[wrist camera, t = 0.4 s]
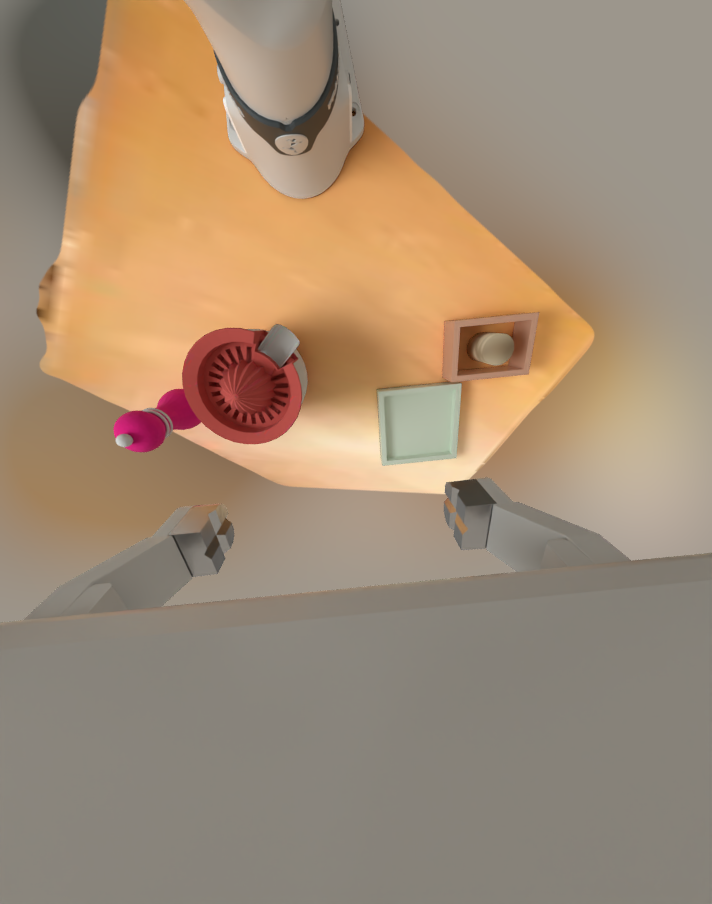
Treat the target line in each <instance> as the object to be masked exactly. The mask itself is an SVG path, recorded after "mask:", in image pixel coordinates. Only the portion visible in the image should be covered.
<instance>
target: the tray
mask: <svg viewBox="0 0 712 904" xmlns="http://www.w3.org/2000/svg"><path fill="white" fill-rule="evenodd" d="M461 387H462V383H460V382H442V383H432V384H422V385H413V386H403V387H393V388H384V389H377V401H378V418H379V434H380V451H381V462H382V466H385V465H394V464H404V463H414V462H423V461H433V460H443V459H452V458H456V457H457V443H458V429H459V415H460V401H461Z"/></svg>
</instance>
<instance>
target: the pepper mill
mask: <svg viewBox="0 0 712 904" xmlns="http://www.w3.org/2000/svg"><path fill="white" fill-rule="evenodd" d="M199 423H201V421H200V420H199V419H198V418H197V416H196V415H195V413H194V412H193V410H192V409H191V407H190V405H189V403H188V401H187V399H186V396H185V392H184V389H174V390H171V391H169V392H167V393H166V394H164V395H163V396H162V397H161V399H160V400H159V402H158V405H157V408H147V409H144V410H142V411H131V412H128V413H125V414H124V415H122V416H121V417H120V418H119V419H118V420H117V421H116V423H115V425H114V435H115V438H116V443H117V444H118V445H119V446H121V447H125V448H127V449H129V450H131V451H135V452H148V451H151V450H154V449H156V448H158V447H159V446H160V445H161V444H162V443H163V441H164V439H165V438H166V437H168V436H169V435H170V434H171V433H172V431H173V430H174V429H178V430H185V429H190V428H193V427H195V426H197V425H198V424H199Z"/></svg>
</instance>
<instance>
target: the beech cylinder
mask: <svg viewBox="0 0 712 904" xmlns="http://www.w3.org/2000/svg"><path fill="white" fill-rule="evenodd" d="M513 351H514V341H513V339H512V338H511V337H510V336H509V335H507V334H503V333H487V332H480V333H477V334H475V335H474V336H473V337H472V338H471V339H470V340H469V342H468V345H467V353H468V356H469V357H470V358H471V359H473V360H476V361H480V362H483V363H487V364H490V365H495V366H496V365H501V364H503V363H505V362H506V361H508V360H509V358H510V357H511V356H512V354H513Z"/></svg>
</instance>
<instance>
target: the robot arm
mask: <svg viewBox="0 0 712 904" xmlns="http://www.w3.org/2000/svg"><path fill="white" fill-rule="evenodd" d="M184 1H185V2H186V4H187V5H188V6H189V7H190V9H191V10H192V12H193V13H194V15H195V16H196V18H197V20H198V21H199V23H200V25H201V27H202V28H203V30H204V32H205V34H206V36H207V37H208V39H209V41H210V43H211V45H212V47H213V49H214V54H215V57H216V60H217V72H218V77H219V80H220V82H221V83H222V84H224V91H225V97H224V98H223V102H224V106H225V109H226V114H227V129H228V137H229V140H230V142H231V144H232V146H233V147H234V148H235V149H236V150H237V151H238V152H239V153H240V154H242V155H243V156H245V157H246V158H248V159H249V160H251V162H252V163H253V164H254V165H255V166H256V168H257V169H258V171H259V172H260V173H261V175H262V176H263V177H264V179H265V180H266V181H267V182H268V183H269V184H270V185H271V186H272V187H273V188H275V189H276V190H277V191H279V192H281V193H283V194H284V195H287V196H290V197H293V198H302V199H303V198H310V197H314V196H316V195H319V194H320V193H322V192H324V191H325V190H326V189H327V188H329V187H330V186H331V185H332V183H333V182H334V181H335V180H336V178H337V177H338V175H339V173H340V171H341V169H342V167H343V164H344V162H345V159H346V156H347V154H348V152H349V150H350V149H351V148H352V147H353V146H354V145H355V144H356V143H357V142H358V140H359V139H360V138H361V136H362V134H363V132H364V118H363V113H362V108H361V102H360V97H359V92H358V87H357V82H356V77H355V72H354V67H353V62H352V58H351V52H350V47H349V42H348V38H347V32H346V27H345V22H344V16H343V12H342V6H341V1H340V0H184ZM352 111H355V112H356V115H355V116H352ZM445 493H446V495H447V497H448V498H447V499H446V501H445V502H444V514H445V518H446V522H447V524H448V526H449V528H451V529H453V530H454V537H455V540H456V541H457V543H458V545H459V547H460V549H461V550H469V549H485V548H486V550H487V551H489V552H490V553H492V554H493V555H494V556H496V557H497V558H498V559H500V560H501V561H503V562H504V563H505V564H507V565H508V566H510V567H511V568H512V569H514V570H515V571H516V572H511V573H501V574H491V575H481V576H471V577H462V578H461V577H460V578H450V579H440V580H430V581H419V582H409V583H399V584H388V585H378V586H367V587H357V588H348V589H337V590H327V591H318V592H307V593H298V594H288V595H278V596H267V597H256V598H246V599H236V600H226V601H215V602H205V603H194V604H185V605H174V606H164V607H162V606H163V605H164V603H166V602H167V601H168V600H169V599H170V598H171V597H172V596H174V595H175V594H176V593H177V592H178V591H179V590H180V589H181V588H182V587H183V586H184V585H186V584H187V583H188V582H189V581H190V580H191V579H192V577H196V576H204V575H211V574H218V572H219V570H220V568H221V566H222V564H223V562H224V560H225V556H224V553H225V552H227V551H228V550H229V549H230V548H231V546H232V543H233V540H234V528H233V526H232V523H231V522H230V521H228V520H227V519H226V517H227V515H228V511H227V509H226V506H225V505H223V504H211V505H198V506H186V507H180V508H177V510H176V511H175V512H174V513H173V514H172V515H171V516H170V517H169V519H168V520H167V521H166V522H165V523H164V524H163V525H162V526H161V527H160V528H159V529H158V531H157V532H156V533H155V534H154V535H153V536H152V537H150V538H146V539H144V540H142V541H140V542H138V543H137V544H135V545H133V546H131V547H130V548H128V549H126V550H124V551H122V552H120V553H119V554H117V555H115V556H113V557H111V558H110V559H108V560H106V561H104V562H102V563H101V564H99V565H97V566H95V567H93V568H92V569H90V570H88V571H86V572H84V573H83V574H81V575H79V576H77V577H75V578H74V579H72V580H70V581H68V582H67V583H65V584H63V585H61V586H59V587H58V588H57V589H56V590H55V591H54V592H53V593H52V594H51V595H50V596H48V597H47V599H45V600H44V601H43V602H42V603H41V604H40V605H39V606H38V607H37V608H36V609H34V610H33V611H32V612H31V613H30V614H29V615H28V616H27V617H26V618H25V619H24V620H20V621H9V622H0V904H712V553H705V554H695V555H684V556H674V557H665V558H654V559H643V560H633V561H631V560H630V559H629V558H628V557H626V556H625V555H624V554H623V553H622V552H620V551H619V550H618V549H617V548H615V547H614V546H613V545H612V544H611V543H609V542H608V541H607V540H606V539H604V538H603V537H602V536H601V535H600V534H597V533H595V532H592V531H590V530H587V529H585V528H582V527H580V526H577V525H575V524H572V523H570V522H567V521H565V520H562V519H560V518H557V517H555V516H552V515H550V514H547V513H545V512H542V511H540V510H537V509H535V508H532V507H530V506H527V505H525V504H522V503H519V502H513V501H512V500H511V499H510V498H509V497H508V496H507V495H506V494H505V493H504V492H503V491H502V490H501V489H500V488H499V487H498V486H497V485H496V484H495V483H494V481H492V479H490V478H488V477H485V478H478V479H472V480H463V481H454V482H446V485H445Z"/></svg>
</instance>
